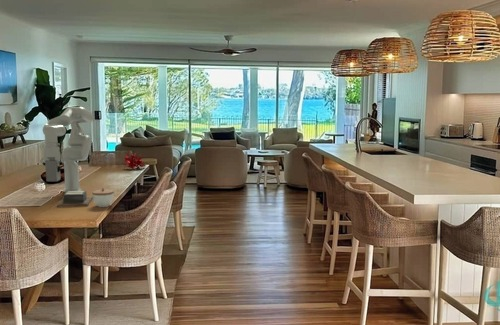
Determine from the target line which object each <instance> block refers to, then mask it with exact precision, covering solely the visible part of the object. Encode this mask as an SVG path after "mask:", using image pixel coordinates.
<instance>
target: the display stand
mask: <svg viewBox="0 0 500 325" xmlns="http://www.w3.org/2000/svg"><path fill="white" fill-rule="evenodd" d="M92 201H93V196H87V190H82V191H67V192H64V193H63V195H62V199H60V201H59V202H58V203H57V204H56V208H66V207H88V206H89V205H90V204H91V202H92ZM89 203H90V204H89Z"/></svg>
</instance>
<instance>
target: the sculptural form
mask: <svg viewBox="0 0 500 325" xmlns="http://www.w3.org/2000/svg"><path fill="white" fill-rule="evenodd" d="M129 154H130V150H128V152H127V154H126V155H125V157H124V158H123V160H124V161H123V163H122V165H124V169H125V168H126V167H128V168H130V169H132V170H135V169H140V168H143V167H146V164H145V162H144V160H142V159H143V157H144V156H141V154H140V155H137V154H136V152H134V151H132V152H131V154H130V155H129Z"/></svg>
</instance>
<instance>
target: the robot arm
mask: <svg viewBox="0 0 500 325" xmlns="http://www.w3.org/2000/svg"><path fill="white" fill-rule="evenodd" d="M93 119H94V115H93V113H92V112H91V111H90V110H89V109H87V108H85V107H82V106H68V107H66V109H65V110H64V111H62V113H61V114H60V115H59V116H55V117H54V118H51V119H49V120H48V121H47V122H45V124H44V125H43V127H42V133H43V135H44V145H45V146H44V148H43V149H44V150H43V157H42V158H41V159H40V160H39V163H41V164H42V166H44V167H45V168H46V165H45V161H50V160H49V159H48V158H47V157H55V161H57V165H58V166H57V168H58V172H59V171H60V172H61V165H63V167H64V168H63V169H64V170H63V171H64V185H65V186H64V188H63V190H62V192H63V193H66V192H67V191H83V190H82V188H81V187H80V172H79V168H80V166H79V165H78V162H76V161H79V162H80V161H81V162H82V161H86V160H87V159H88V157H89V154H90V149H91V146H92V138H91V136H90V135H88V134H84V133H85V131H84V128H83V127H82V125H81V124H90V123H92V122H93ZM68 126H70V127H71V130H70V134H69V137H68V141H67V145H68V146H67V147H65V148H63V150H62V152H61V149H60V148H61V147H60V146H61V143H60V142H58V137H62V136H64V135H65V134H66V132H67V129H66V127H68ZM61 154H62V155H61ZM59 161H60V162H59Z"/></svg>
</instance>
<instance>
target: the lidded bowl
mask: <svg viewBox="0 0 500 325" xmlns="http://www.w3.org/2000/svg"><path fill="white" fill-rule="evenodd" d="M92 201H93V202H94V204H95V206H97V207H99V208H107V207H110V205H111V204H112V203H113V201H114V190H113V189H105V188H104V187H101V189H97V190H93V191H92Z"/></svg>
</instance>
